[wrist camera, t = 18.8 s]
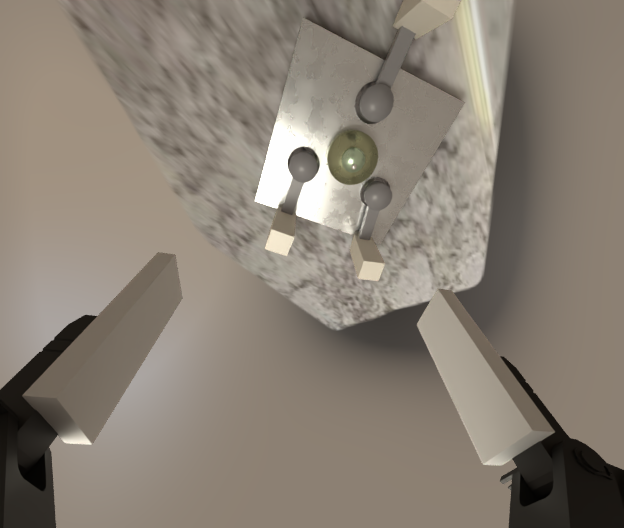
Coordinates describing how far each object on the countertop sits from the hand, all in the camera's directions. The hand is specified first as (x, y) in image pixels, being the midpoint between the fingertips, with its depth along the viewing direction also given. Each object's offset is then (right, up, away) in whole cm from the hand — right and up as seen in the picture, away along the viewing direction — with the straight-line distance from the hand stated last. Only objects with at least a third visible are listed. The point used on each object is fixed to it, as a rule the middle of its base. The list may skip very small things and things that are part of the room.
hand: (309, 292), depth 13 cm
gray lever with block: (+10, +26, +18) cm, 33 cm away
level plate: (+6, +18, +26) cm, 32 cm away
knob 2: (+10, +9, +29) cm, 32 cm away
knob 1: (-3, +13, +26) cm, 29 cm away
